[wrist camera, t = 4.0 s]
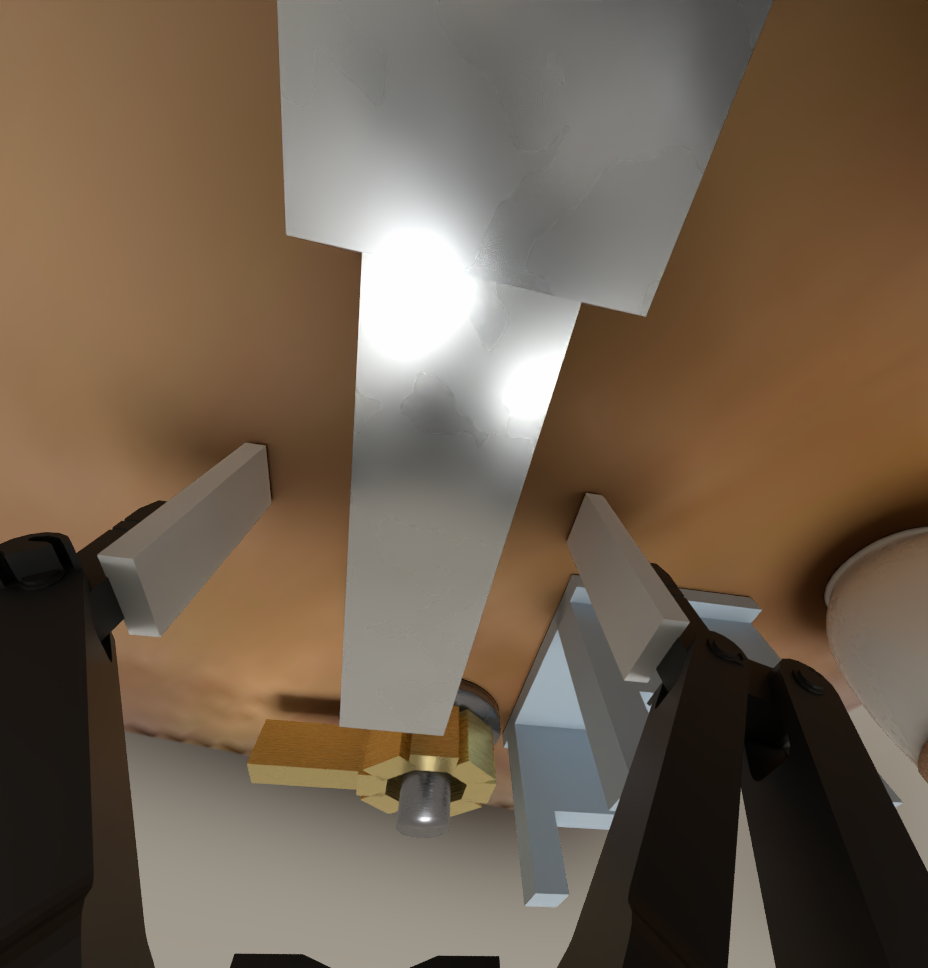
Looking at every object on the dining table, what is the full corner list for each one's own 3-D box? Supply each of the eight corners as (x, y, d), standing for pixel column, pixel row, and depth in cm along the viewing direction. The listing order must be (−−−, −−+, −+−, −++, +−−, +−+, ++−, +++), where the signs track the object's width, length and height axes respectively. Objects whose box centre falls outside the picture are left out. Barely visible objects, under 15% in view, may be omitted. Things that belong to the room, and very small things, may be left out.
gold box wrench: (502, 709, 21) (507, 761, 19) (476, 771, 25) (478, 820, 22) (263, 688, 20) (238, 741, 17) (274, 756, 23) (254, 807, 21)
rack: (572, 574, 18) (646, 768, 11) (750, 597, 18) (927, 789, 11) (502, 734, 25) (519, 911, 18) (633, 745, 26) (697, 917, 19)
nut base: (363, 667, 21) (335, 782, 16) (513, 682, 22) (528, 795, 17) (358, 745, 25) (335, 854, 20) (483, 755, 26) (489, 861, 21)
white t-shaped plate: (362, 46, 9) (269, -178, 5) (632, 124, 10) (775, -5, 5) (339, 623, 19) (304, 723, 15) (471, 638, 20) (475, 738, 16)
